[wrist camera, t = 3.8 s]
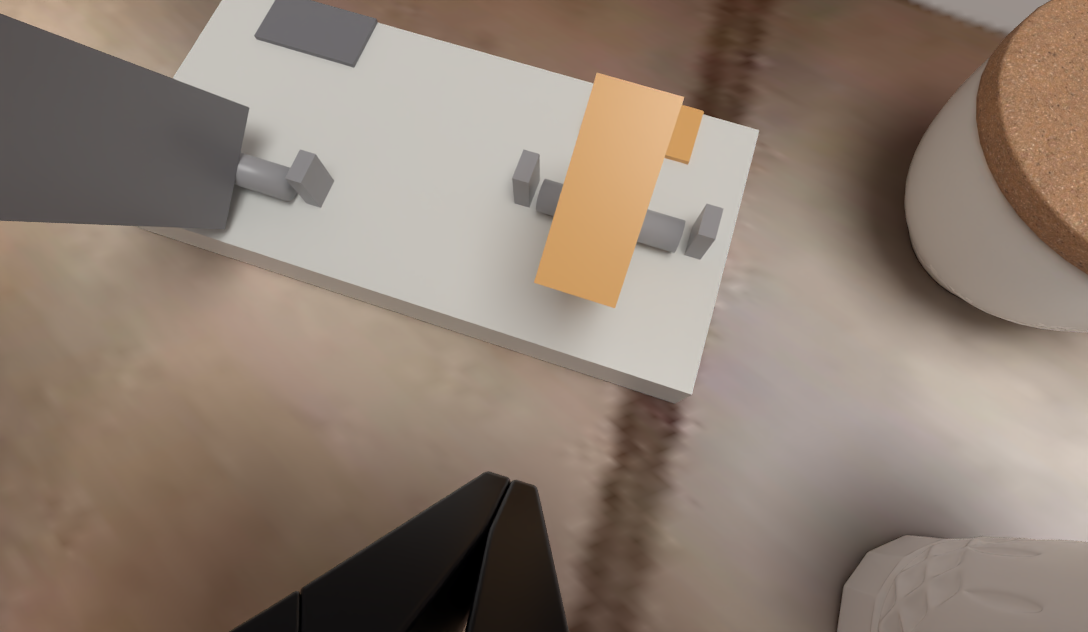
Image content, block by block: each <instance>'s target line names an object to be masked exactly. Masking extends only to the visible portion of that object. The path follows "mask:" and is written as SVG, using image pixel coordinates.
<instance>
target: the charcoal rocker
mask: <svg viewBox="0 0 1088 632" xmlns="http://www.w3.org/2000/svg"><path fill="white" fill-rule="evenodd" d="M248 113H249V107H247V106H244V105H242V104H239V103H236V102H234V101H231V100H228V99H226V98H223V97H220V96H218V95H215V94H212V93H210V92H207V91H204V90H202V89H199V88H196V87H194V86H191V85H188V84H186V83H183V82H180V81H178V80H175V79H173V78H170V77H167V76H165V75H162V74H159V73H157V72H154V71H151V70H149V69H146V68H143V67H141V66H138V65H135V64H133V63H130V62H127V61H125V60H122V59H119V58H117V57H114V56H111V55H109V54H106V53H104V52H101V51H98V50H96V49H93V48H90V47H88V46H85V45H82V44H80V43H77V42H74V41H72V40H69V39H66V38H64V37H61V36H58V35H56V34H53V33H50V32H48V31H45V30H42V29H40V28H37V27H35V26H32V25H29V24H27V23H24V22H21V21H19V20H16V19H13V18H11V17H8V16H5V15H3V14H0V221H23V222H49V223H74V224H99V225H125V226H150V227H175V228H201V229H225V227H226V222H227V217H228V212H229V207H230V202H231V197H232V192H233V187H234V185H237V186H240V187H243V188H247V189H250V190H253V191H256V192H259V193H262V194H266V195H269V196H272V197H275V198H278V199H281V200H285V201H290V200H292V199H293V198H294V197H295V196H296V195H297V192H296V191H295V189H294V188H293V187H292V186H291V185H290V184H289V182H288V181H287V180H286V179H285V177H286V175H287V173H288V171H289V169H290V167H287V166H283V165H280V164H277V163H274V162H270V161H267V160H264V159H261V158H258V157H254V156H251V155H248V154H245V153H241V148H242V143H243V138H244V133H245V128H246V123H247V118H248Z"/></svg>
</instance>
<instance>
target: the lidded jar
mask: <svg viewBox="0 0 1088 632" xmlns="http://www.w3.org/2000/svg"><path fill="white" fill-rule="evenodd" d="M904 206H905V214H906V221H907V225H908V228H909V235H910V240H911V243H912V247H913V250H914V252H915V254H916V256H917V258H918V260H919V261H920V263H921V264H922V266H923V268H924V269H925V270H926V271H927V272H928V274H929V275H930V276H931V277H932V278H933V279H934V280H935V281H936V282H937V283H938V284H940V285H941V286H942V287H943V288H945V289H946V290H948V291H949V292H951V293H952V294H954V295H956V296H958V297H960V298H962V299H963V300H965V301H966V302H968V303H969V304H971V305H973V306H975V307H976V308H978V309H980V310H982V311H984V312H986V313H988V314H991V315H994V316H997V317H999V318H1002V319H1005V320H1008V321H1011V322H1014V323H1017V324H1021V325H1025V326H1030V327H1034V328H1039V329H1047V330H1056V331H1067V332H1080V333H1081V332H1088V0H1051V1H1049V2H1047V3H1046V4H1044V5H1042V6H1040V7H1038V8H1037V9H1036V10H1035V11H1034V12H1033V13H1031V14H1030V15H1029V16H1028V17H1027V18H1026V19H1025V20H1024V21H1022V22H1021V23H1020V24H1019V25H1018V26H1017V27H1016V28H1015V29H1014V30H1013V31H1012V32H1010V33H1009V34H1008V35H1007V36H1006V37H1005V39H1004V40H1003V41H1002V42H1001V43H1000V45H999V46H998V47H997V49H996V50H995V51H994V53H993V54H992V55H991V57H990V58H988V59H987V60H986V61H985V62H984V63H983V64H982V65H981V66H980V67H979V68H978V69H977V70H976V71H975V72H974V73H973V74H972V75H971V76H970V77H969V78H968V79H967V80H966V81H965V82H964V83H963V84H962V85H961V86H960V87H959V88H958V89H957V91H956V92H955V93H954V94H953V96H952V97H951V98H950V99H949V100H948V102H947V103H946V104H945V105H944V107H943V108H942V109H941V110H940V112H939V113H938V114H937V116H936V117H935V118H934V120H933V121H932V123H931V124H930V126H929V127H928V129H927V131H926V132H925V134H924V135H923V137H922V139H921V141H920V143H919V145H918V147H917V149H916V151H915V154H914V156H913V159H912V162H911V164H910V167H909V171H908V175H907V179H906V188H905V204H904Z"/></svg>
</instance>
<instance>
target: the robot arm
mask: <svg viewBox="0 0 1088 632" xmlns="http://www.w3.org/2000/svg"><path fill="white" fill-rule="evenodd" d="M466 622H467V625H466V629H465V632H569V630H568V625H567V620H566V616H565V611H564V607H563V602H562V598H561V593H560V589H559V584H558V580H557V575H556V571H555V566H554V561H553V557H552V552H551V548H550V543H549V539H548V534H547V530H546V525H545V521H544V516H543V511H542V507H541V502H540V498H539V493H538V490H537V487H536V486H534V485H531V484H528V483H525V482H521V481H518V480H513V481H512V482H511V483H510V479H509V478H508V477H505V476H502V475H499V474H495V473H492V472H485V473H483V474H481V475H480V476H478V477H476V478H475V479H473V480H472V481H470V482H469V483H467V484H465V485H464V486H462V487H461V488H459V489H457V490H456V491H454V492H453V493H451V494H450V495H448V496H446V497H445V498H443V499H442V500H440V501H438V502H437V503H435V504H434V505H432V506H431V507H429V508H427V509H426V510H424V511H423V512H421V513H420V514H418V515H416V516H415V517H413V518H412V519H410V520H408V521H407V522H405V523H404V524H402V525H401V526H399V527H397V528H396V529H394V530H393V531H391V532H389V533H388V534H386V535H385V536H383V537H382V538H380V539H378V540H377V541H375V542H374V543H372V544H371V545H369V546H367V547H366V548H364V549H363V550H361V551H359V552H358V553H356V554H355V555H353V556H352V557H350V558H348V559H347V560H345V561H344V562H342V563H340V564H339V565H337V566H336V567H334V568H333V569H331V570H329V571H328V572H326V573H325V574H323V575H321V576H320V577H318V578H317V579H315V580H314V581H312V582H310V583H309V584H307V585H306V586H304V587H303V588H302V589H301V592H298V591H295V592H293V593H291V594H290V595H288V596H287V597H285V598H283V599H282V600H280V601H279V602H277V603H276V604H274V605H272V606H271V607H269V608H268V609H266V610H264V611H263V612H261V613H259V614H258V615H256V616H254V617H253V618H251V619H249V620H248V621H246V622H244V623H243V624H241V625H239V626H237V627H236V628H234V629H232V630H231V631H229V632H462V631H463V629H464V627H465V624H466Z"/></svg>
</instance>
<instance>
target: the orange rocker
mask: <svg viewBox="0 0 1088 632" xmlns="http://www.w3.org/2000/svg"><path fill="white" fill-rule="evenodd" d="M683 100H684V97H682V96H678V95H675V94H671V93H668V92H664V91H660V90H657V89H653V88H650V87H646V86H643V85H639V84H635V83H632V82H628V81H625V80H621V79H618V78H614V77H610V76H607V75H603V74H600V73H597V74H596V77H595V81H594V84H593V87H592V91H591V94H590V97H589V101H588V104H587V107H586V111H585V114H584V117H583V121H582V124H581V127H580V131H579V134H578V137H577V141H576V144H575V147H574V151H573V154H572V157H571V161H570V164H569V167H568V171H567V174H566V177H565V181H564V184H562V183H559V182H555V181H552V180H549V179H544V181H543V183H542V185H541V188H540V191H539V194H538V198H537V203H536V211H538V212H541V213H545V214H548V215H551V216H554V217H553V221H552V224H551V227H550V231H549V234H548V237H547V241H546V244H545V247H544V250H543V254H542V257H541V260H540V264H539V267H538V270H537V274H536V277H535V280H534V283H536V284H539V285H543V286H546V287H549V288H552V289H555V290H558V291H562V292H565V293H568V294H571V295H574V296H577V297H581V298H584V299H587V300H590V301H593V302H596V303H600V304H603V305H606V306H609V307H612V308H615V307H616V304H617V301H618V298H619V295H620V292H621V289H622V286H623V283H624V280H625V276H626V273H627V270H628V267H629V264H630V261H631V258H632V255H633V252H634V249H635V246H636V243H637V242H640V243H643V244H646V245H650V246H653V247H656V248H659V249H663V250H666V251H669V252H672V253H675V251H676V249H677V247H678V245H679V242H680V240H681V237H682V234H683V231H684V227H685V222H686V221H685V220H682V219H679V218H676V217H672V216H669V215H666V214H662V213H659V212H656V211H652V210H649V209H648V206H649V203H650V200H651V197H652V194H653V191H654V188H655V185H656V182H657V179H658V176H659V173H660V170H661V167H662V164H663V161H664V157H665V154H666V151H667V148H668V145H669V142H670V139H671V136H672V133H673V130H674V127H675V124H676V121H677V118H678V115H679V112H680V109H681V106H682V103H683Z"/></svg>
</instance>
